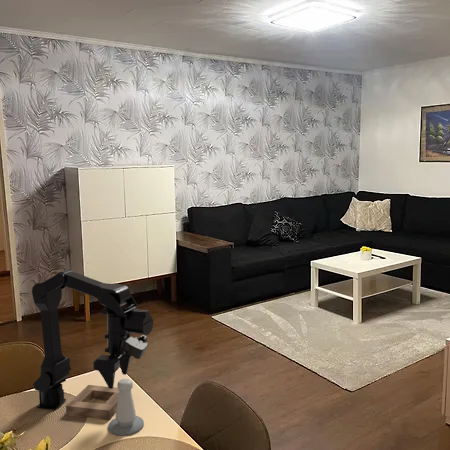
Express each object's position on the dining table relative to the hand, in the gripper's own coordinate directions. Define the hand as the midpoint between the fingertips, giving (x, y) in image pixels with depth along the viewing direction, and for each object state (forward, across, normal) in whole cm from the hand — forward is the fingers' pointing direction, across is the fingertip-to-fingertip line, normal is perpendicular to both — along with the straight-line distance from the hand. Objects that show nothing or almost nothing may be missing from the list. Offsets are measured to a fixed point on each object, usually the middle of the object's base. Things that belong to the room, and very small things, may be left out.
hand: (118, 381), depth 136 cm
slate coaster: (+12, -3, -4) cm, 13 cm away
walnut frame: (+12, +6, +10) cm, 17 cm away
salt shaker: (+12, -3, -4) cm, 12 cm away
